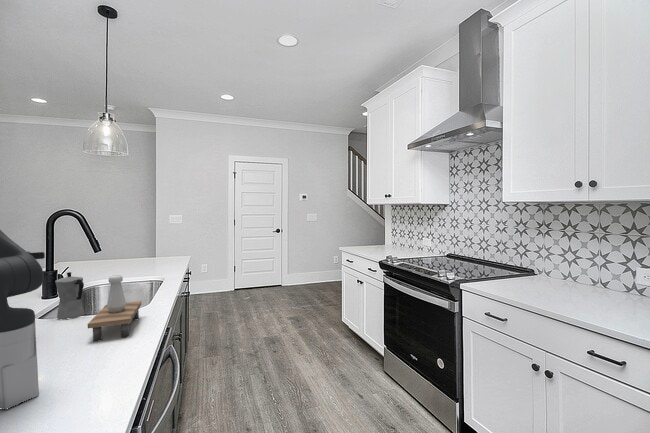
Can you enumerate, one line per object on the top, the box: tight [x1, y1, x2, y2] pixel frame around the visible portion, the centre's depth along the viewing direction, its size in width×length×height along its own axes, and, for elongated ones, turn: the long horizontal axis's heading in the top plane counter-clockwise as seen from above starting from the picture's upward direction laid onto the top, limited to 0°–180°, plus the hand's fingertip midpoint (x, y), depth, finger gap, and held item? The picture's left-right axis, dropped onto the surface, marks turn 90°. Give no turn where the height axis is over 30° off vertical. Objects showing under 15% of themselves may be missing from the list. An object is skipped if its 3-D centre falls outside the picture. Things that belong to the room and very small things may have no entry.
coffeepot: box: [55, 271, 85, 321], centre depth 133 cm, size 15×9×18 cm, turn 66°
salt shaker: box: [106, 274, 126, 313], centre depth 118 cm, size 6×6×13 cm
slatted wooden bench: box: [87, 300, 142, 343], centre depth 119 cm, size 22×12×6 cm, turn 21°
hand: (38, 257), depth 106 cm, fingers open, 8 cm apart
